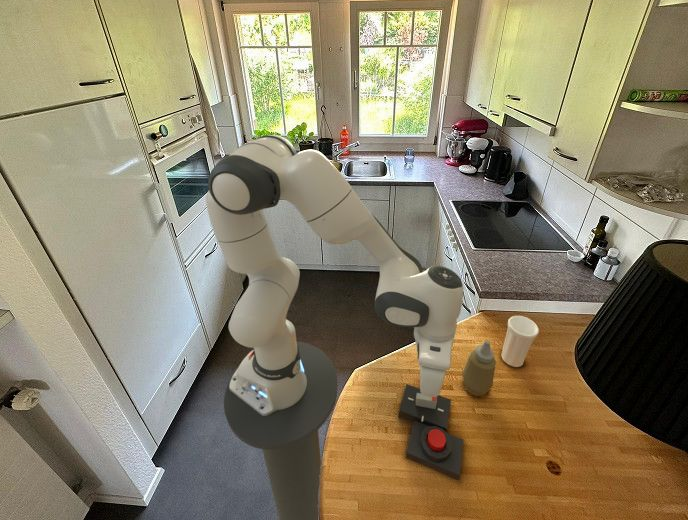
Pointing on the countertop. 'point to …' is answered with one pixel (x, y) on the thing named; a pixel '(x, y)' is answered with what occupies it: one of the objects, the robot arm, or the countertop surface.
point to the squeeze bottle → (479, 370)
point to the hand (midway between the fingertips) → (426, 371)
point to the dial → (426, 401)
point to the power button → (436, 440)
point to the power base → (439, 461)
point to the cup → (518, 340)
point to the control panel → (424, 409)
